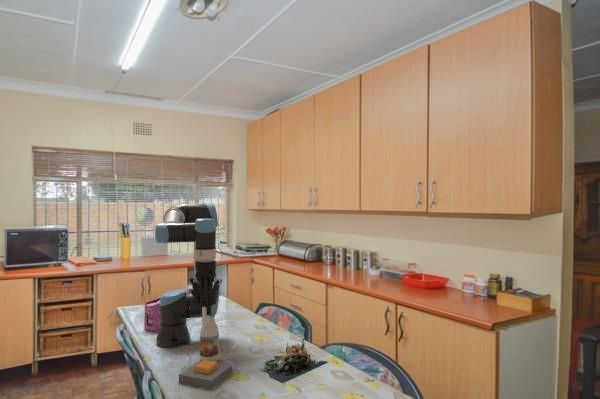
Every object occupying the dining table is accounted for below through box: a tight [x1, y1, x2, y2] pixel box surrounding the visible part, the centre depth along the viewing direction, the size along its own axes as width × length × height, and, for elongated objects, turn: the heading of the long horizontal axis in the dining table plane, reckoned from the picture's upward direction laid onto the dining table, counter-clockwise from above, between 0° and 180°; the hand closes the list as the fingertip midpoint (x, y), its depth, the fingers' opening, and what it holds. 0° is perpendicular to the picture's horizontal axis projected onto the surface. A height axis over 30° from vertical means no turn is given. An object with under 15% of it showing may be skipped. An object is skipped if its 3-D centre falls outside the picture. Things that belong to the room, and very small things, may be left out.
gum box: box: [143, 297, 161, 332], centre depth 213 cm, size 24×8×14 cm, turn 160°
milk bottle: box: [199, 311, 220, 362], centre depth 165 cm, size 8×8×20 cm
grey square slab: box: [178, 359, 233, 390], centre depth 149 cm, size 14×14×3 cm
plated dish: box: [258, 338, 329, 384], centre depth 162 cm, size 35×28×7 cm
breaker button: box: [194, 360, 218, 375], centre depth 149 cm, size 6×6×2 cm
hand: (206, 323), depth 149 cm, fingers closed
